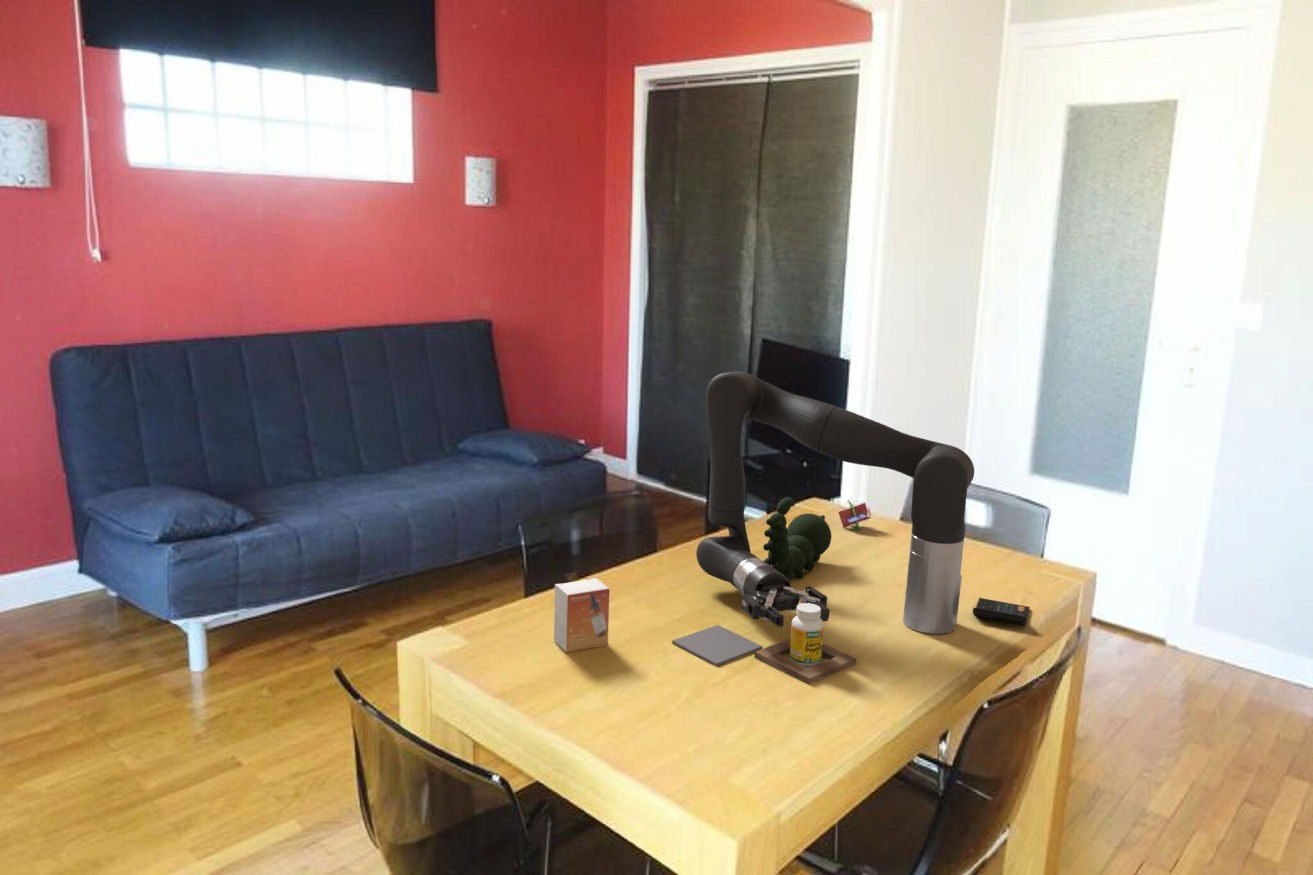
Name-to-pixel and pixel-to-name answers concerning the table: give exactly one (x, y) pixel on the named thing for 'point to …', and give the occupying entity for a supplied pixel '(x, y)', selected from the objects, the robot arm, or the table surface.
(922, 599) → the robot arm
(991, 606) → the black flat block
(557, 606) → the small box
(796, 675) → the walnut dock
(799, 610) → the supplement bottle
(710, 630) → the charcoal mat
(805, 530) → the toy figurine
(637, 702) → the table surface
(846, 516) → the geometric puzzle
